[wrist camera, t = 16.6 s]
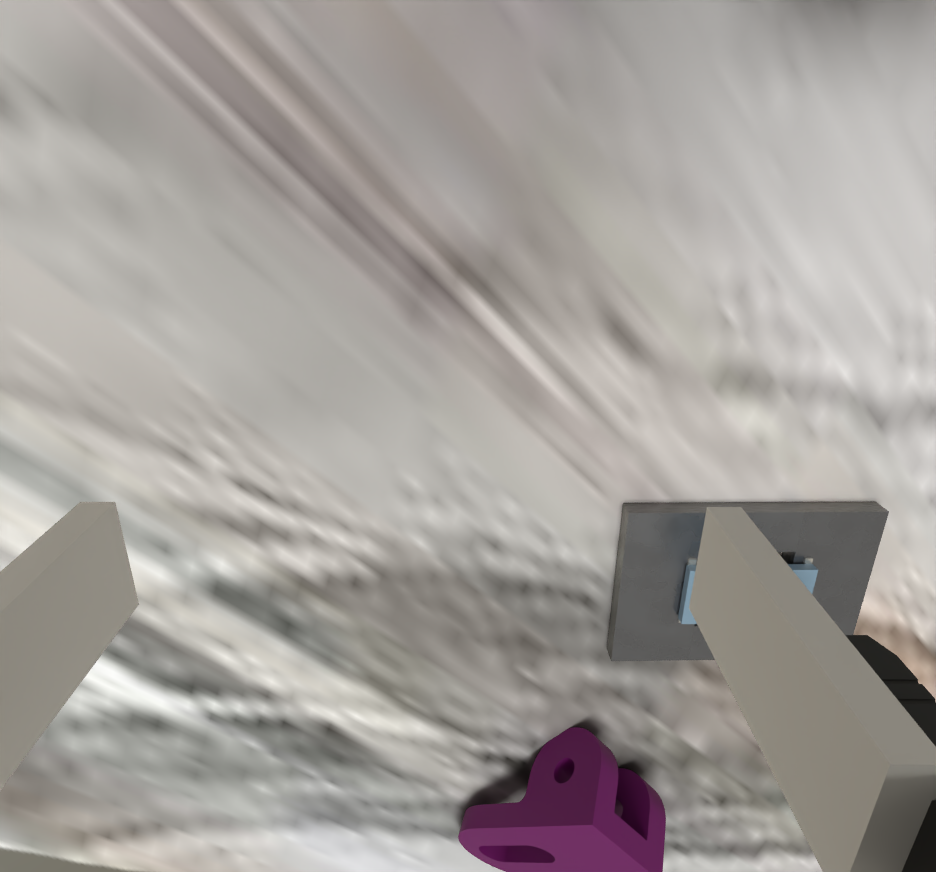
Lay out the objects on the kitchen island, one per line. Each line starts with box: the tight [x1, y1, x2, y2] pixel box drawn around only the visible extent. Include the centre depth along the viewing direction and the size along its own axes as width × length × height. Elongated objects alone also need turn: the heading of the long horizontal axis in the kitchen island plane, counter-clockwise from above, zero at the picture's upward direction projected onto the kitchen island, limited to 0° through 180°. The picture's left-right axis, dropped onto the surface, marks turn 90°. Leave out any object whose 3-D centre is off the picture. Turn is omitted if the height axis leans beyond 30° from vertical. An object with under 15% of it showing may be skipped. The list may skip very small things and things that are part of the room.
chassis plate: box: [607, 502, 889, 661], centre depth 51 cm, size 20×14×2 cm
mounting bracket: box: [458, 727, 666, 872], centre depth 59 cm, size 9×8×18 cm
